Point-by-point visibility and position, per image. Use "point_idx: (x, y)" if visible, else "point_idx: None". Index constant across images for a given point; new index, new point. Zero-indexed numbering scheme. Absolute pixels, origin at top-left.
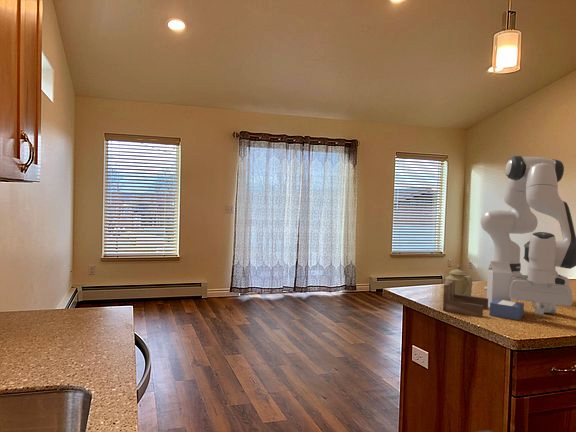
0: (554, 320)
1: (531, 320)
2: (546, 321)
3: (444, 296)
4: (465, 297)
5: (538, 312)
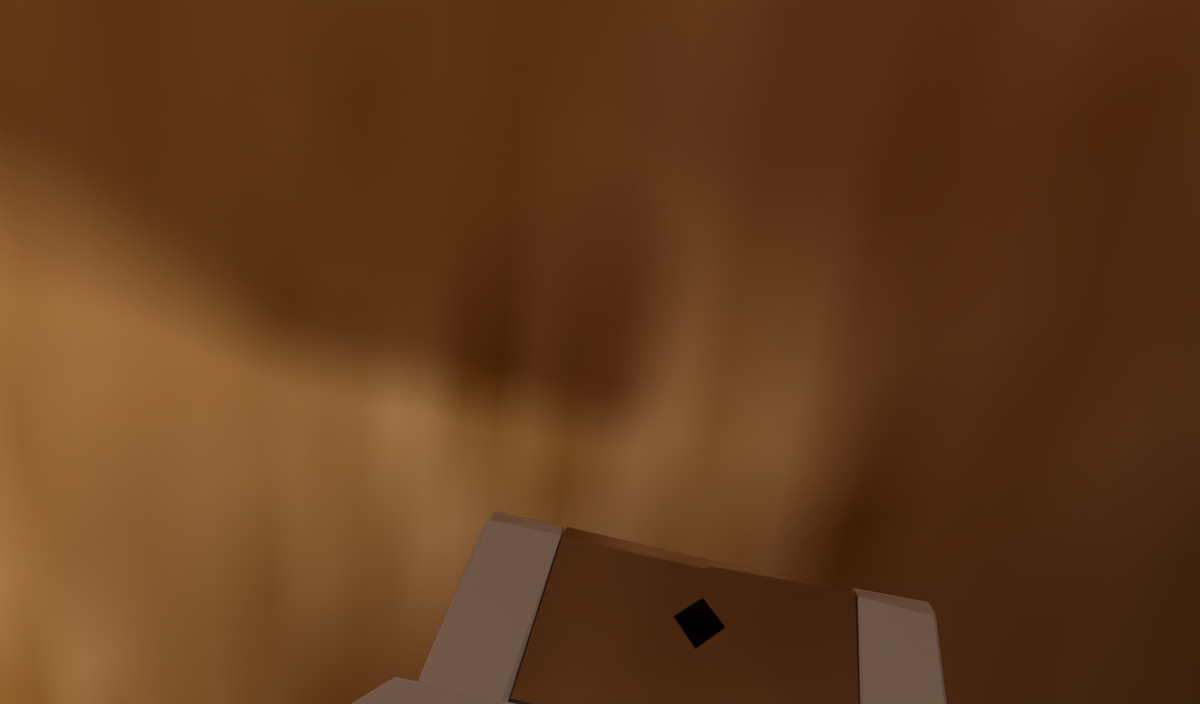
0: (198, 593)
1: (1079, 258)
2: (448, 353)
3: None
4: None
5: (741, 619)
